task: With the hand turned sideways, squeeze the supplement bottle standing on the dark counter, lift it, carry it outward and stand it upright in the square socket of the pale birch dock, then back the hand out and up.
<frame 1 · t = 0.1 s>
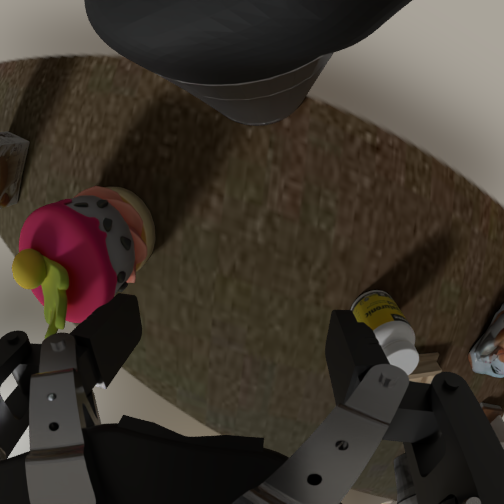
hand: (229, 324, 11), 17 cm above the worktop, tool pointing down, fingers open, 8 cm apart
birch dock: (395, 384, 34), on the worktop
beverage cup: (403, 456, 43), on the worktop
white shelf stand: (474, 420, 39), on the worktop
cake: (117, 229, 29), on the worktop
supplement bottle: (370, 308, 30), on the worktop
lucky cat figurine: (493, 328, 30), on the worktop
coffee box: (12, 166, 27), on the worktop
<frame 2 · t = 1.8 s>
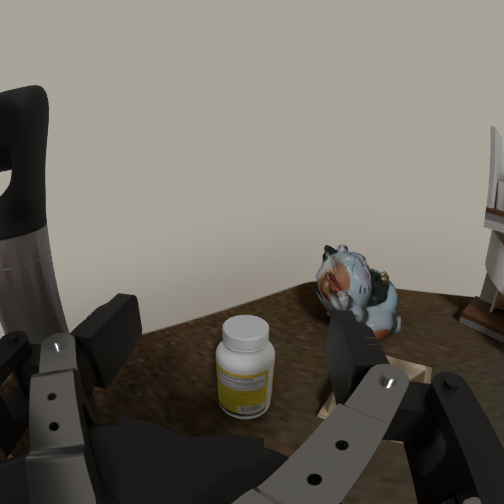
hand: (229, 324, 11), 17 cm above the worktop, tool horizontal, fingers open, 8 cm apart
birch dock: (380, 401, 26), on the worktop
white shelf stand: (486, 322, 39), on the worktop
supplement bottle: (244, 403, 27), on the worktop
lucky cat figurine: (355, 323, 43), on the worktop
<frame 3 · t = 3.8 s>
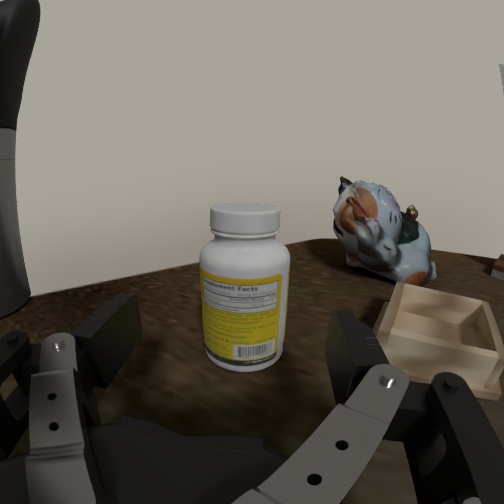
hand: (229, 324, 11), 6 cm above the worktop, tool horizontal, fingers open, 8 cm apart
birch dock: (434, 347, 18), on the worktop
supplement bottle: (243, 352, 19), on the worktop
lucky cat figurine: (381, 273, 35), on the worktop
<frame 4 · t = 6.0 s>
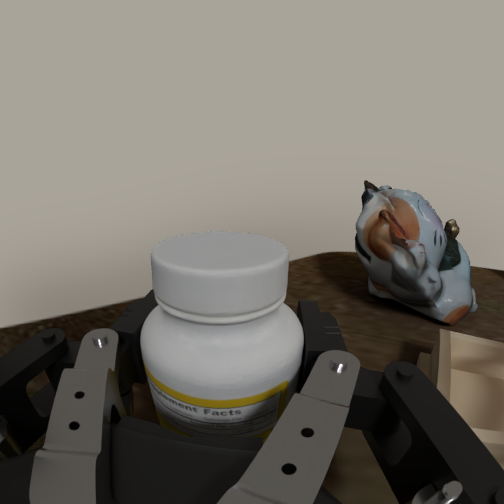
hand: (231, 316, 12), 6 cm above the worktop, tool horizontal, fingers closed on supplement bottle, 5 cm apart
birch dock: (483, 420, 10), on the worktop
supplement bottle: (226, 449, 11), on the worktop, touching gripper
lucky cat figurine: (411, 303, 26), on the worktop
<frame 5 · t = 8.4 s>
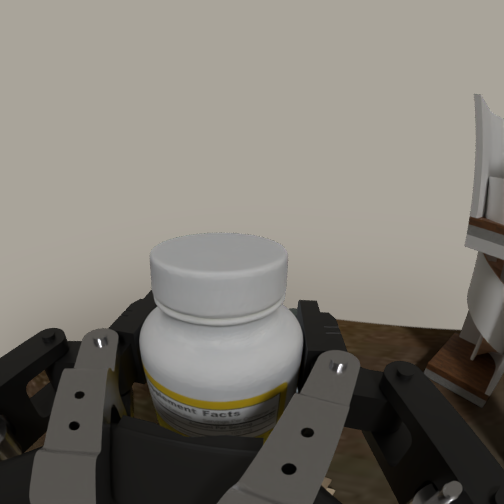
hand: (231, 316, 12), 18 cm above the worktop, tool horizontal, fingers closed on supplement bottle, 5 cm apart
white shelf stand: (465, 372, 29), on the worktop
supplement bottle: (226, 450, 11), point 12 cm above the worktop, touching gripper
when the fingers open (7 cm above the worktop, at t = 11.0 s): supplement bottle stays where it is, resting on birch dock.
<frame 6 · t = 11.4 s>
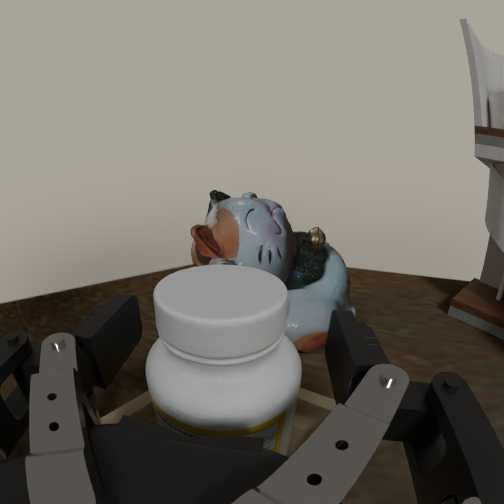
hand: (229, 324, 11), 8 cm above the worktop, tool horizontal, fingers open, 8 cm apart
birch dock: (227, 463, 12), on the worktop
white shelf stand: (492, 316, 25), on the worktop
supplement bottle: (228, 462, 11), resting on birch dock
lucky cat figurine: (276, 321, 27), on the worktop
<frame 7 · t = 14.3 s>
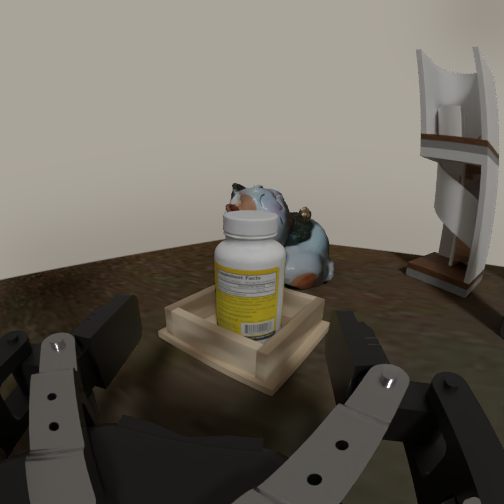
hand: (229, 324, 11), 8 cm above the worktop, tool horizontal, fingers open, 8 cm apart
birch dock: (247, 335, 24), on the worktop
white shelf stand: (446, 279, 37), on the worktop
supplement bottle: (248, 332, 24), resting on birch dock
lucky cat figurine: (278, 274, 39), on the worktop
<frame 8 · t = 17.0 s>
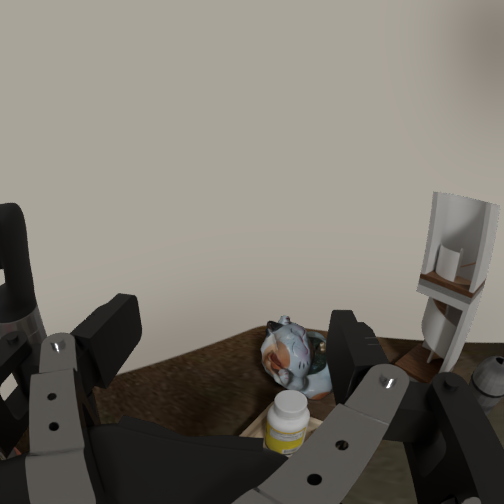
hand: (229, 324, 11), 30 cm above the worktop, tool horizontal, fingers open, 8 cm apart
birch dock: (282, 444, 34), on the worktop
beverage cup: (457, 433, 30), on the worktop
white shelf stand: (423, 371, 47), on the worktop
supplement bottle: (283, 444, 33), resting on birch dock
lucky cat figurine: (299, 381, 48), on the worktop
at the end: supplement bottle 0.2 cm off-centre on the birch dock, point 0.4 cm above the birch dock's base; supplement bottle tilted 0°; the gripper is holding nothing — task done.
